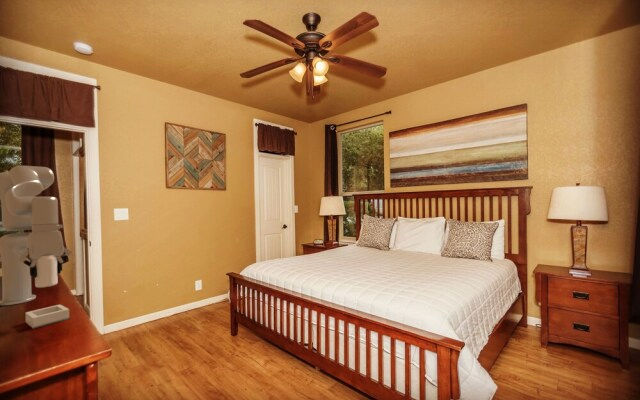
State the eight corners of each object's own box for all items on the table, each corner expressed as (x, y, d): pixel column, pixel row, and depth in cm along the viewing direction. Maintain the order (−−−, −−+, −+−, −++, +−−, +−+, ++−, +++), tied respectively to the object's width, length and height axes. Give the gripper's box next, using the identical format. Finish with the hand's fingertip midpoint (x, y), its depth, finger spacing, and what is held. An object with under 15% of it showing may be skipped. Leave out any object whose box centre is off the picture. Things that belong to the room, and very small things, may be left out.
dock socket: (25, 322, 115) (25, 312, 115) (60, 313, 123) (60, 304, 123) (33, 328, 109) (33, 318, 109) (69, 318, 118) (69, 309, 118)
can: (44, 288, 113) (43, 256, 113) (30, 287, 114) (29, 255, 114) (62, 283, 119) (61, 253, 119) (49, 282, 120) (48, 252, 120)
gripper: (70, 226, 126) (71, 269, 126) (11, 230, 111) (12, 279, 111) (76, 227, 121) (77, 271, 121) (16, 231, 107) (17, 281, 107)
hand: (46, 274), depth 116 cm, fingers closed on can, 6 cm apart
